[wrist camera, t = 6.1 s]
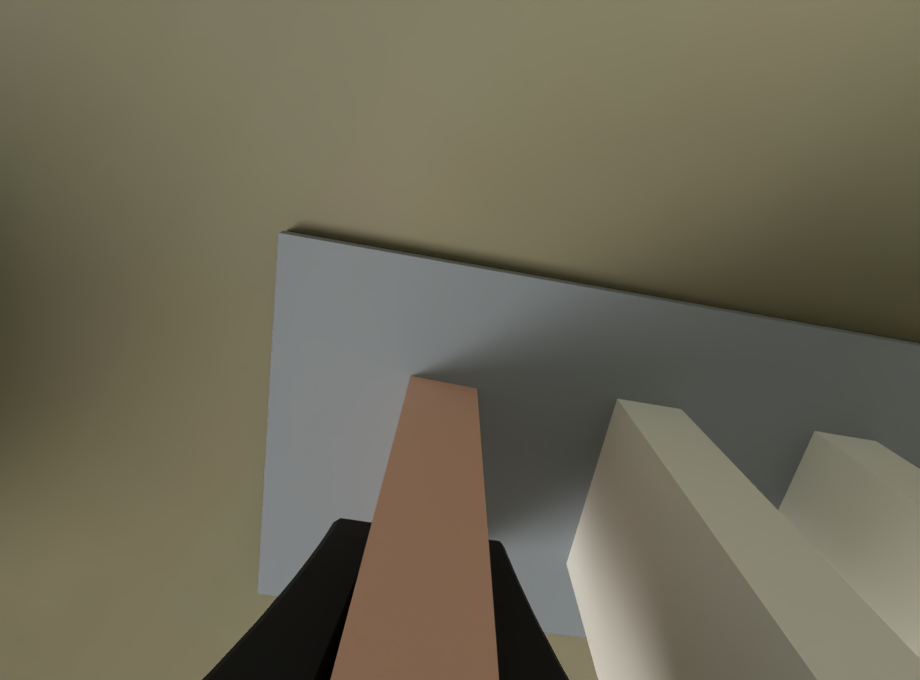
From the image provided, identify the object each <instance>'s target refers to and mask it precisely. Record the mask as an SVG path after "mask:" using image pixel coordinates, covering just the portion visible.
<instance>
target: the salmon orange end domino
mask: <svg viewBox="0 0 920 680" xmlns="http://www.w3.org/2000/svg"><path fill="white" fill-rule="evenodd" d="M330 680H499V672H498V659H497V645H496V632H495V619H494V606H493V593H492V579H491V566H490V553H489V540H488V527H487V513H486V500H485V487H484V474H483V461H482V447H481V434H480V421H479V408H478V395H477V388H472V387H467V386H461V385H456V384H451V383H446V382H440V381H435V380H430V379H425V378H420V377H414V376H410V380H409V384H408V388H407V391H406V395H405V399H404V403H403V406H402V410H401V414H400V418H399V422H398V425H397V429H396V433H395V437H394V441H393V444H392V448H391V452H390V456H389V460H388V463H387V467H386V471H385V475H384V478H383V482H382V486H381V490H380V494H379V497H378V501H377V505H376V509H375V513H374V516H373V520H372V524H371V528H370V532H369V535H368V539H367V543H366V547H365V550H364V554H363V558H362V562H361V566H360V569H359V573H358V577H357V581H356V585H355V588H354V592H353V596H352V600H351V604H350V607H349V611H348V615H347V619H346V622H345V626H344V630H343V634H342V638H341V641H340V645H339V649H338V653H337V657H336V660H335V664H334V668H333V672H332V676H331V679H330Z"/></svg>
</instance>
